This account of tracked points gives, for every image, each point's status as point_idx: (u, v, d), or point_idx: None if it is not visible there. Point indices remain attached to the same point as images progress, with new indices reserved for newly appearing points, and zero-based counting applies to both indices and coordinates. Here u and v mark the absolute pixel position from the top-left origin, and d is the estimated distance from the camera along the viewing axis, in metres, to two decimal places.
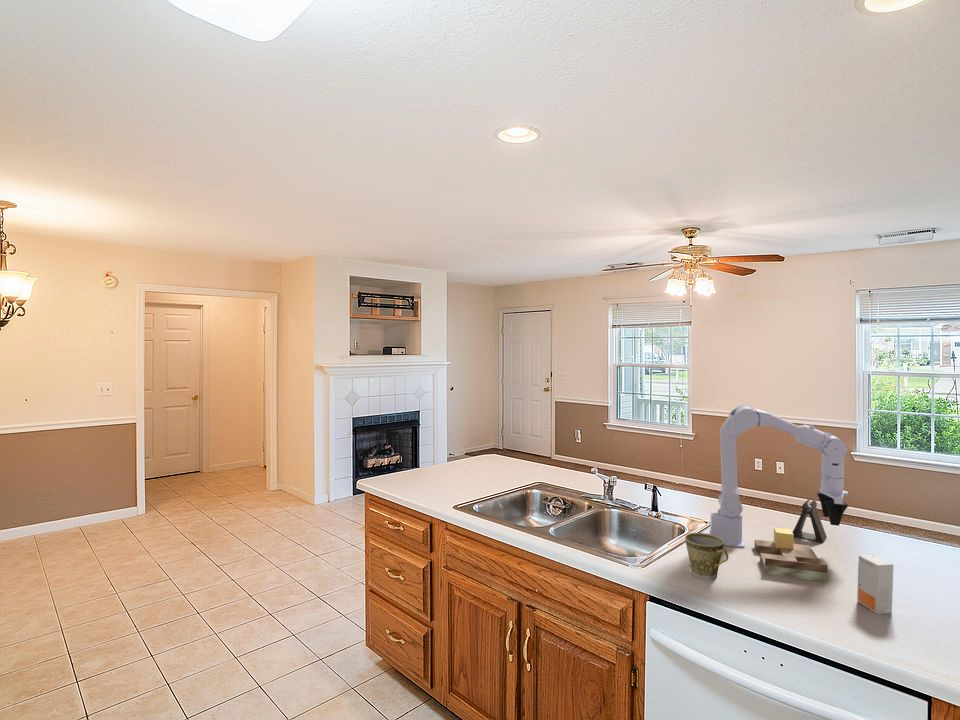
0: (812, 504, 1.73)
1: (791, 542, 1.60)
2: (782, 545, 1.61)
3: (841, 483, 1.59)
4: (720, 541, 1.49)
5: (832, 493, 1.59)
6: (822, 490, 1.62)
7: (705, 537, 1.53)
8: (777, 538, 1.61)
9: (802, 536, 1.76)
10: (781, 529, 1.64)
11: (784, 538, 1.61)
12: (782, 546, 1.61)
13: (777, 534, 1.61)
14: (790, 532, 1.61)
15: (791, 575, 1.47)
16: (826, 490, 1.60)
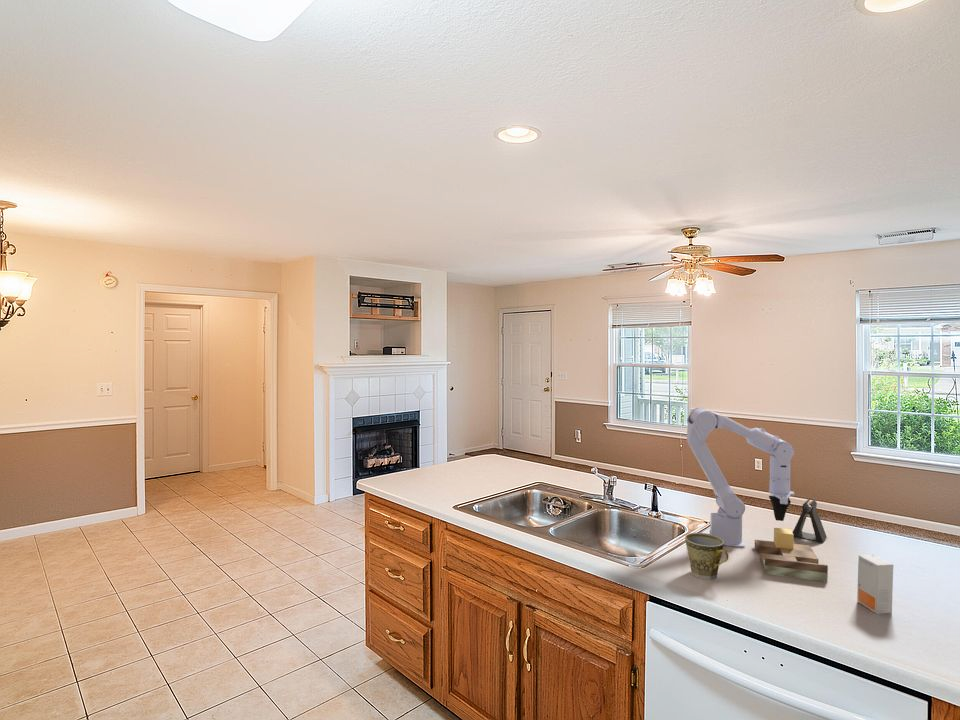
0: (812, 504, 1.73)
1: (791, 542, 1.60)
2: (782, 545, 1.61)
3: (787, 484, 1.66)
4: (720, 541, 1.49)
5: (779, 494, 1.67)
6: (770, 491, 1.69)
7: (705, 537, 1.53)
8: (777, 538, 1.61)
9: (802, 536, 1.76)
10: (781, 529, 1.64)
11: (784, 538, 1.61)
12: (782, 546, 1.61)
13: (777, 534, 1.61)
14: (790, 532, 1.61)
15: (791, 575, 1.47)
16: (774, 491, 1.68)
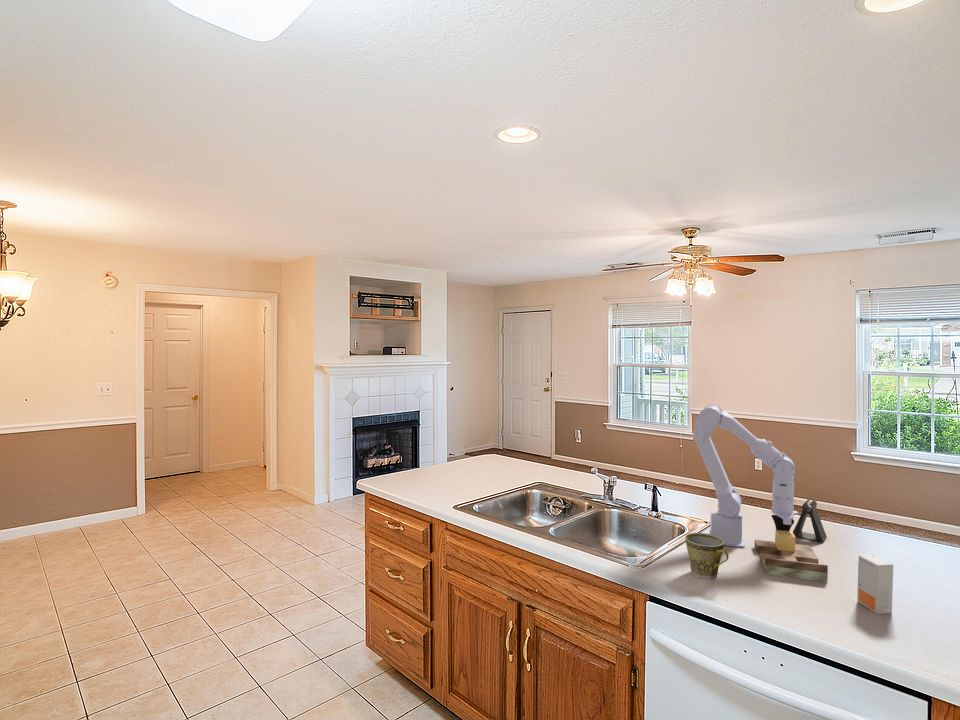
0: (812, 504, 1.73)
1: (793, 544, 1.58)
2: (784, 547, 1.59)
3: (791, 503, 1.62)
4: (720, 541, 1.49)
5: (782, 513, 1.62)
6: (773, 510, 1.64)
7: (705, 537, 1.53)
8: (779, 540, 1.59)
9: (802, 536, 1.76)
10: (782, 531, 1.62)
11: (786, 540, 1.59)
12: (784, 548, 1.59)
13: (779, 536, 1.59)
14: (792, 534, 1.60)
15: (791, 575, 1.47)
16: (777, 510, 1.63)
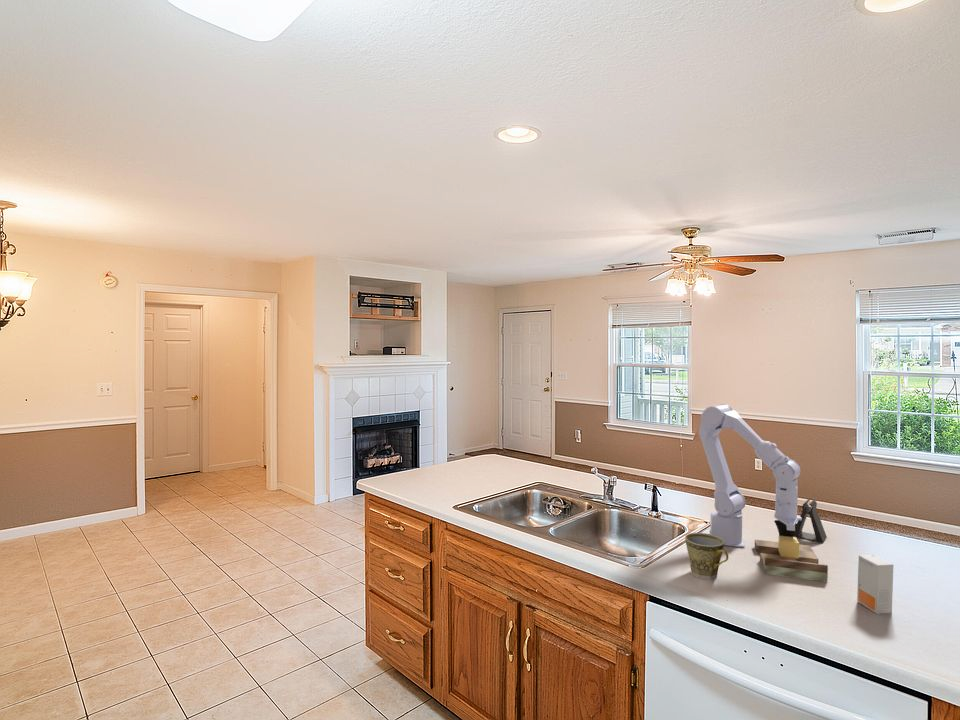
0: (812, 504, 1.73)
1: (797, 551, 1.53)
2: (787, 554, 1.54)
3: (794, 509, 1.57)
4: (720, 541, 1.49)
5: (785, 519, 1.57)
6: (776, 515, 1.59)
7: (705, 537, 1.53)
8: (782, 547, 1.55)
9: (802, 536, 1.76)
10: (786, 537, 1.57)
11: (789, 546, 1.54)
12: (787, 555, 1.54)
13: (782, 542, 1.55)
14: (796, 540, 1.55)
15: (791, 575, 1.47)
16: (780, 515, 1.58)
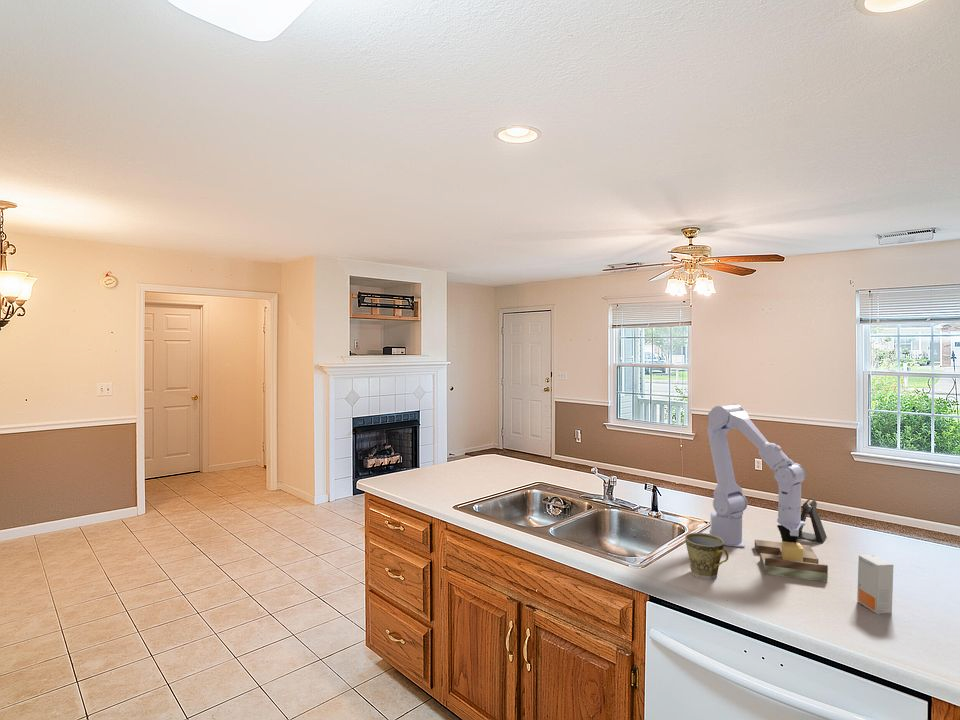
0: (812, 504, 1.73)
1: (800, 557, 1.49)
2: (791, 560, 1.50)
3: (798, 513, 1.53)
4: (720, 541, 1.49)
5: (789, 524, 1.53)
6: (779, 520, 1.55)
7: (705, 537, 1.53)
8: (785, 553, 1.50)
9: (802, 536, 1.76)
10: (789, 543, 1.53)
11: (793, 552, 1.50)
12: None
13: (785, 548, 1.50)
14: (799, 546, 1.51)
15: (791, 575, 1.47)
16: (783, 520, 1.54)
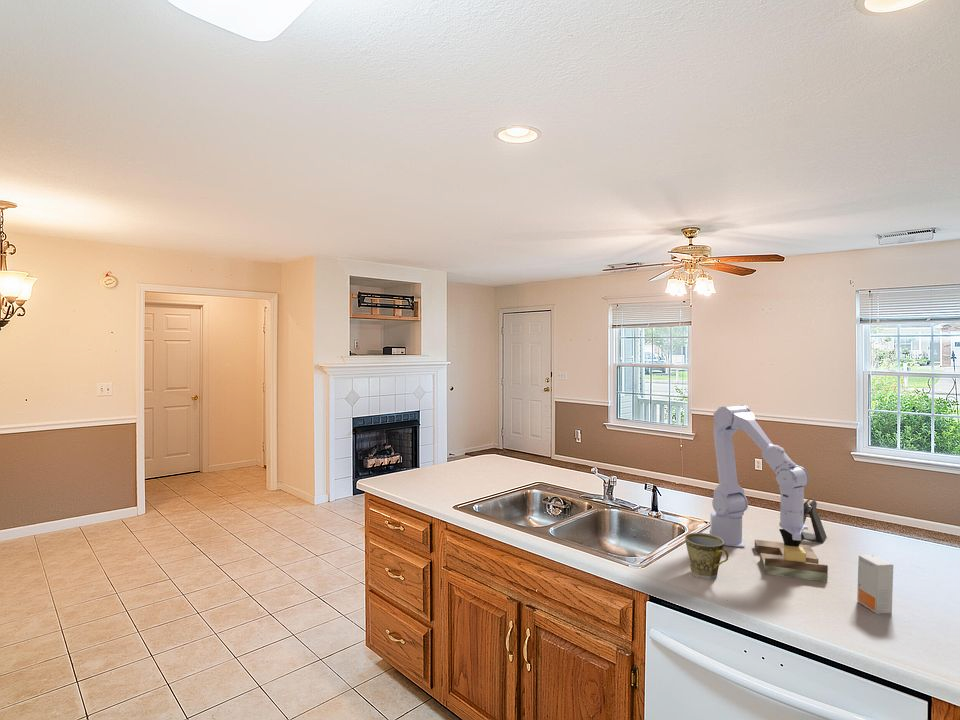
0: (812, 504, 1.73)
1: None
2: None
3: (800, 517, 1.49)
4: (720, 541, 1.49)
5: (791, 528, 1.50)
6: (781, 524, 1.52)
7: (705, 537, 1.53)
8: (788, 557, 1.47)
9: None
10: (792, 547, 1.50)
11: (795, 557, 1.47)
12: None
13: (788, 553, 1.47)
14: (802, 551, 1.48)
15: (791, 575, 1.47)
16: (785, 524, 1.51)
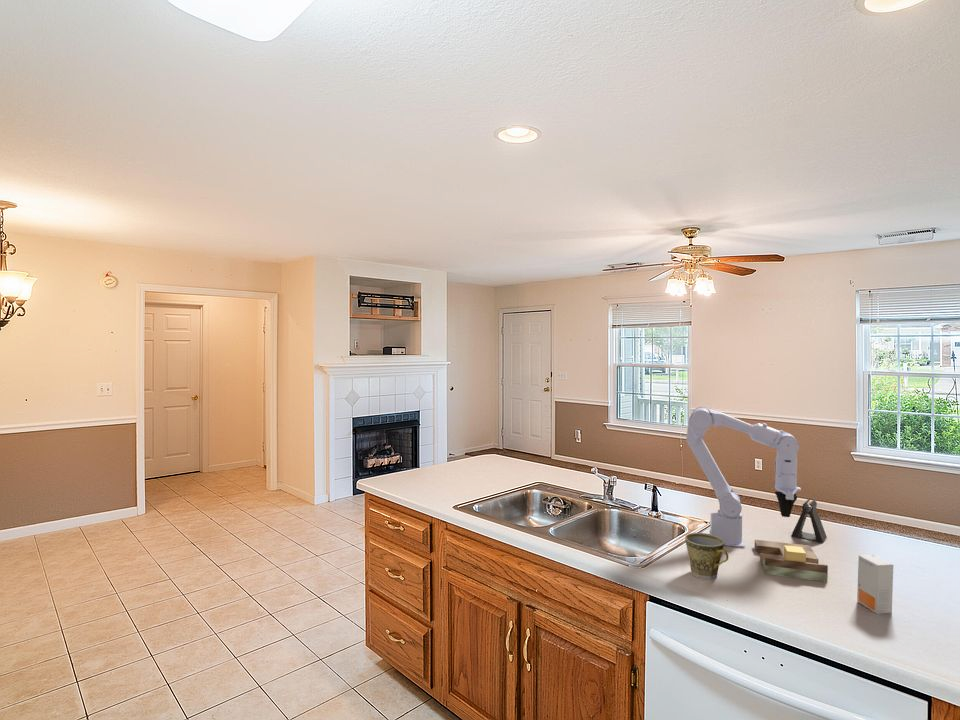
0: (812, 504, 1.73)
1: None
2: None
3: (794, 479, 1.62)
4: (720, 541, 1.49)
5: (785, 489, 1.63)
6: (776, 486, 1.65)
7: (705, 537, 1.53)
8: (788, 557, 1.47)
9: (802, 536, 1.76)
10: (792, 547, 1.50)
11: (795, 557, 1.47)
12: None
13: (788, 553, 1.47)
14: (802, 551, 1.48)
15: (791, 575, 1.47)
16: (779, 486, 1.64)
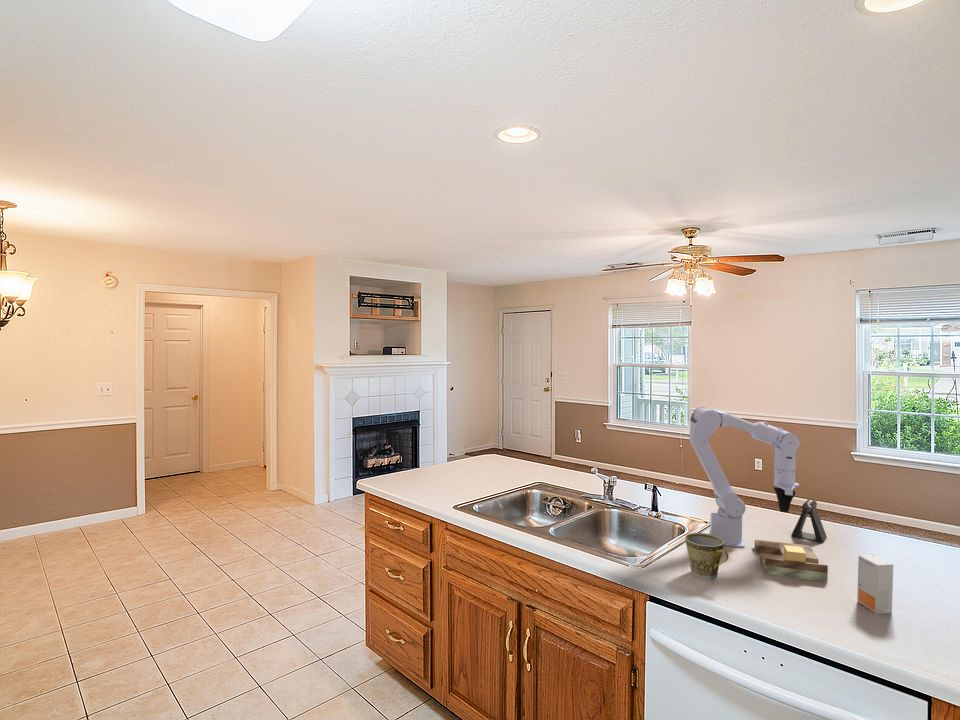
0: (812, 504, 1.73)
1: None
2: None
3: (792, 475, 1.67)
4: (720, 541, 1.49)
5: (784, 485, 1.67)
6: (775, 482, 1.69)
7: (705, 537, 1.53)
8: (788, 557, 1.47)
9: (802, 536, 1.76)
10: (792, 547, 1.50)
11: (795, 557, 1.47)
12: None
13: (788, 553, 1.47)
14: (802, 551, 1.48)
15: (791, 575, 1.47)
16: (778, 482, 1.68)
